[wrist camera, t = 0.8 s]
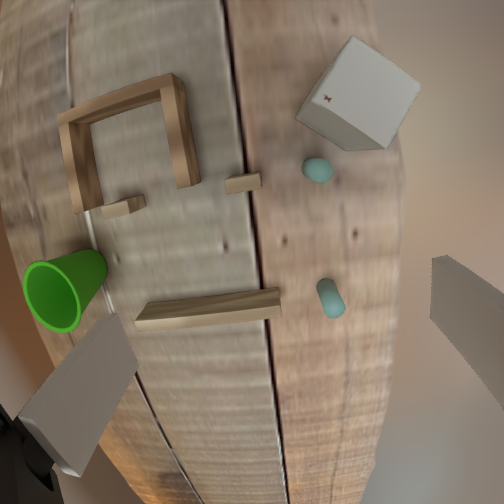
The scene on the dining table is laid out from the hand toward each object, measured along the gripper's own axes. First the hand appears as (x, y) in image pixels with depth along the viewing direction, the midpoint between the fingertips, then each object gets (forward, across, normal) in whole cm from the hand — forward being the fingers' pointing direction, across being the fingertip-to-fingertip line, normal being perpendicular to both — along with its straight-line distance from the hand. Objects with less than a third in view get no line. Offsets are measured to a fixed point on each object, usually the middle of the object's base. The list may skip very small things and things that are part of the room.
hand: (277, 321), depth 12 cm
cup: (+26, -26, -3) cm, 37 cm away
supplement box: (+26, +10, +10) cm, 30 cm away
